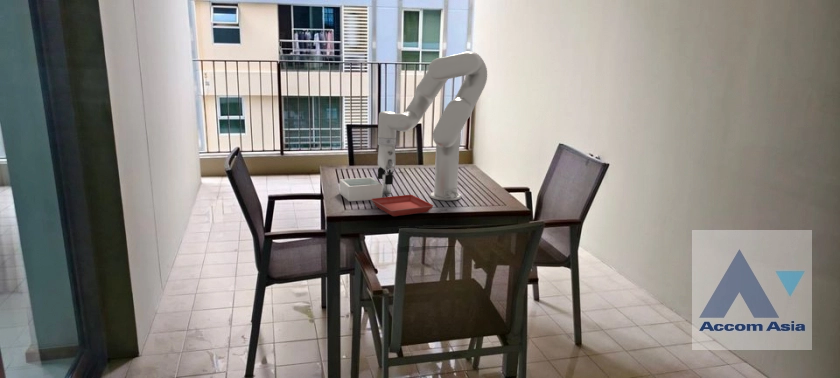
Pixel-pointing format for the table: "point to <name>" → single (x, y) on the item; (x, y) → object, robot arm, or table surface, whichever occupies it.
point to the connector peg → (386, 186)
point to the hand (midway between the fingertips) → (384, 181)
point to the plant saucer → (402, 205)
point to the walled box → (360, 189)
